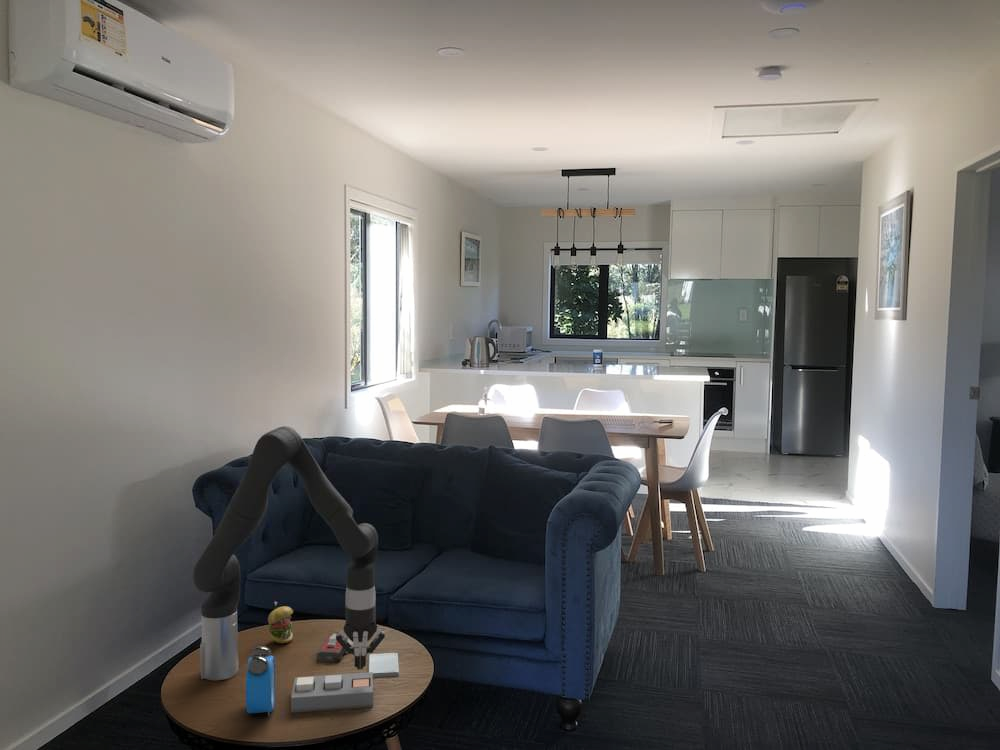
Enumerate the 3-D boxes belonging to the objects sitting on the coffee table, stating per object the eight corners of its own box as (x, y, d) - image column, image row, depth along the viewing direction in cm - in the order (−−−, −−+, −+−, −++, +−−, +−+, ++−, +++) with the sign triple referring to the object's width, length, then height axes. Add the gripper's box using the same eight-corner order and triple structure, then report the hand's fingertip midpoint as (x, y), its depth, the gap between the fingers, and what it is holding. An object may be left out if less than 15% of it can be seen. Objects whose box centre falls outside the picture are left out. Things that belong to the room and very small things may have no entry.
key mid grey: (324, 694, 203) (324, 683, 203) (325, 687, 207) (325, 675, 207) (341, 693, 204) (340, 682, 203) (341, 685, 208) (341, 674, 207)
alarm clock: (271, 722, 194) (270, 662, 193) (245, 724, 193) (243, 664, 191) (275, 696, 207) (274, 640, 205) (250, 698, 206) (249, 641, 204)
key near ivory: (296, 696, 202) (296, 685, 202) (297, 688, 206) (297, 677, 206) (312, 695, 203) (312, 683, 202) (313, 687, 206) (313, 676, 206)
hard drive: (398, 671, 219) (397, 652, 231) (368, 673, 217) (368, 653, 230) (398, 677, 219) (397, 657, 231) (368, 679, 217) (368, 659, 230)
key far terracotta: (353, 698, 204) (352, 687, 204) (353, 691, 208) (353, 679, 208) (368, 697, 205) (368, 686, 205) (369, 689, 209) (368, 678, 209)
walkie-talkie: (346, 664, 226) (360, 635, 246) (346, 649, 225) (360, 621, 245) (315, 664, 226) (332, 634, 246) (315, 649, 226) (332, 620, 246)
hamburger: (284, 648, 235) (283, 608, 234) (263, 644, 238) (262, 605, 237) (298, 637, 243) (297, 599, 242) (277, 634, 245) (277, 596, 244)
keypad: (291, 712, 199) (291, 697, 198) (295, 691, 209) (295, 677, 209) (373, 706, 202) (372, 692, 201) (372, 685, 213) (372, 672, 212)
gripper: (333, 609, 200) (333, 676, 202) (387, 607, 202) (386, 673, 204) (334, 598, 207) (334, 663, 209) (386, 596, 209) (385, 660, 211)
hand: (360, 668), depth 206 cm, fingers closed
